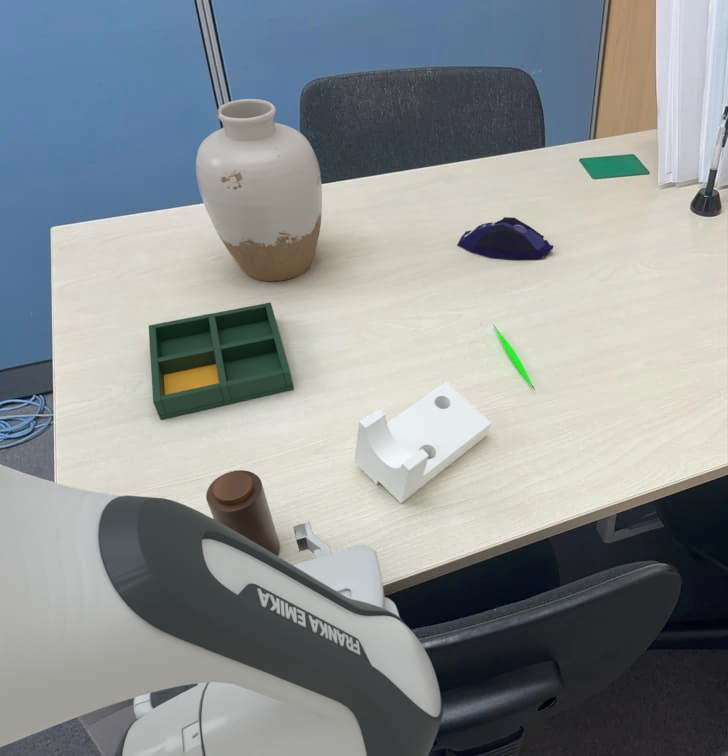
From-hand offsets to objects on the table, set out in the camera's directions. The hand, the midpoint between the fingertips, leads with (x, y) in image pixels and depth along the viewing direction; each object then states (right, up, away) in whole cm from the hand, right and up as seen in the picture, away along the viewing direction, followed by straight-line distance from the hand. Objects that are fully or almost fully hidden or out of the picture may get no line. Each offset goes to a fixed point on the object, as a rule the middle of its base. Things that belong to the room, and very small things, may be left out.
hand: (247, 543), depth 62 cm
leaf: (+23, +17, +28) cm, 40 cm away
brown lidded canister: (-1, -2, +5) cm, 6 cm away
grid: (-12, +16, +25) cm, 32 cm away
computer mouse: (+23, +35, +49) cm, 64 cm away
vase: (-11, +31, +43) cm, 54 cm away
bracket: (+14, +6, +15) cm, 22 cm away
